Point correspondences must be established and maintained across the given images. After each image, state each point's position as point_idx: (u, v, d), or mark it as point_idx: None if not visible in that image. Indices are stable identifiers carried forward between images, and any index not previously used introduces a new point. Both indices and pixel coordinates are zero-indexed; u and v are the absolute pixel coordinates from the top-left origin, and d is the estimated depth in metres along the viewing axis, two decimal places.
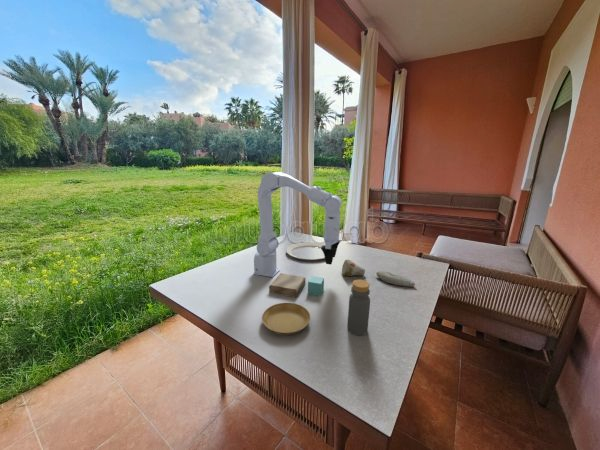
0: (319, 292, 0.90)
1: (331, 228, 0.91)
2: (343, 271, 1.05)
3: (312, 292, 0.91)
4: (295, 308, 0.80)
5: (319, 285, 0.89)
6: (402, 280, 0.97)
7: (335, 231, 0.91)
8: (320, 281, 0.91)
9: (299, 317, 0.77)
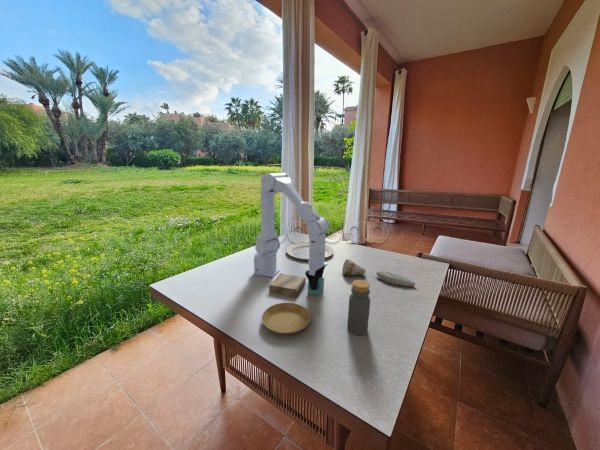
0: (319, 292, 0.90)
1: (313, 252, 0.86)
2: (343, 271, 1.06)
3: (312, 292, 0.91)
4: (295, 308, 0.80)
5: (319, 285, 0.89)
6: (402, 280, 0.97)
7: (320, 255, 0.86)
8: (320, 281, 0.91)
9: (299, 317, 0.77)
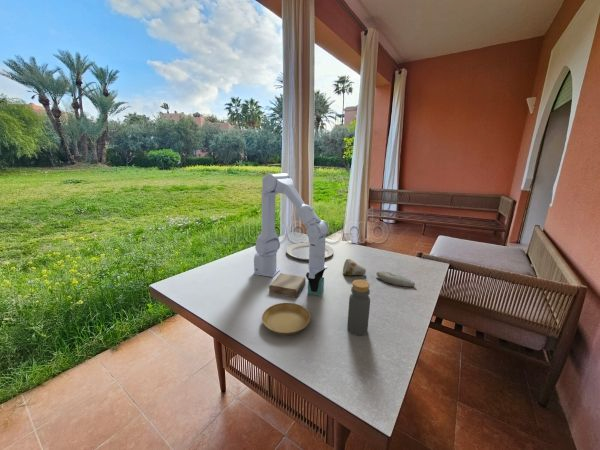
0: (319, 292, 0.90)
1: (313, 255, 0.87)
2: (344, 271, 1.06)
3: (312, 292, 0.91)
4: (295, 308, 0.80)
5: (319, 285, 0.89)
6: (402, 280, 0.97)
7: (320, 259, 0.87)
8: (320, 281, 0.91)
9: (299, 317, 0.77)
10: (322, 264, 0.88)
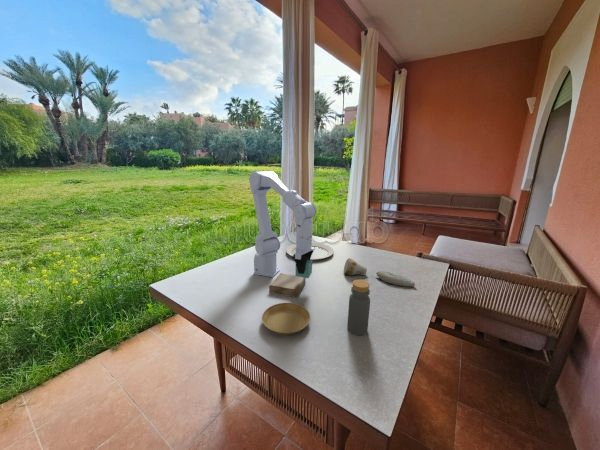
0: (307, 274, 0.89)
1: (299, 236, 0.86)
2: (345, 270, 1.07)
3: (300, 274, 0.90)
4: (295, 308, 0.80)
5: (307, 267, 0.89)
6: (402, 280, 0.97)
7: (306, 240, 0.86)
8: (308, 263, 0.90)
9: (299, 317, 0.77)
10: (309, 245, 0.87)
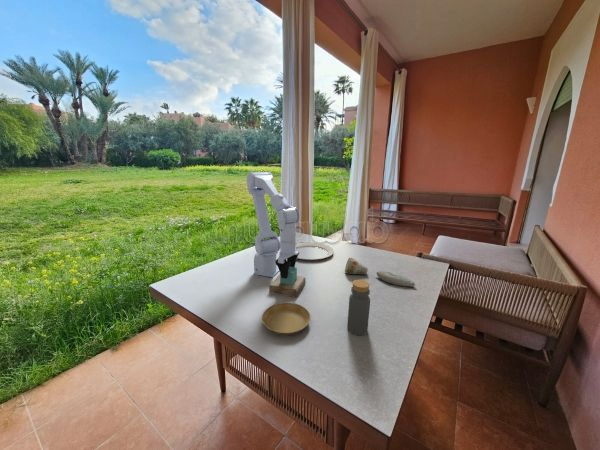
0: (291, 281, 0.91)
1: (281, 240, 0.88)
2: (346, 269, 1.08)
3: (284, 281, 0.92)
4: (295, 308, 0.80)
5: (291, 274, 0.91)
6: (402, 279, 0.97)
7: (290, 244, 0.88)
8: (292, 270, 0.92)
9: (299, 317, 0.77)
10: (292, 250, 0.89)
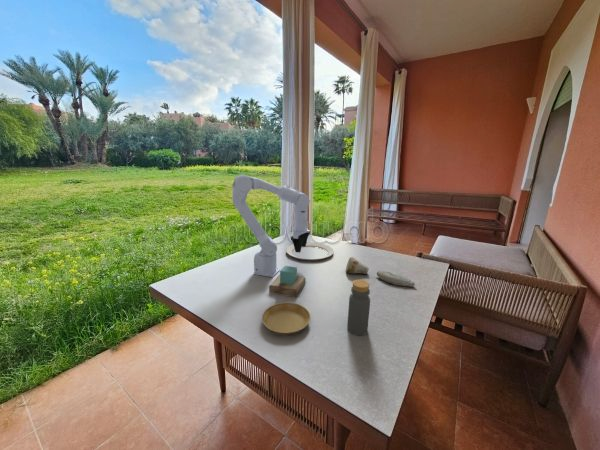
0: (291, 281, 0.91)
1: (303, 220, 1.04)
2: (346, 268, 1.08)
3: (284, 281, 0.92)
4: (295, 308, 0.80)
5: (291, 274, 0.91)
6: (402, 279, 0.97)
7: (303, 223, 1.05)
8: (292, 270, 0.92)
9: (299, 317, 0.77)
10: (305, 228, 1.06)
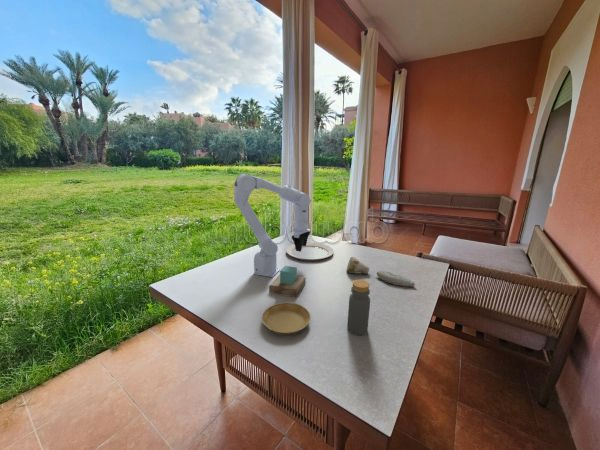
0: (291, 281, 0.91)
1: (304, 220, 1.06)
2: (347, 268, 1.09)
3: (284, 281, 0.92)
4: (295, 308, 0.80)
5: (291, 274, 0.91)
6: (402, 280, 0.97)
7: (303, 222, 1.06)
8: (292, 270, 0.92)
9: (299, 317, 0.77)
10: (305, 227, 1.07)
